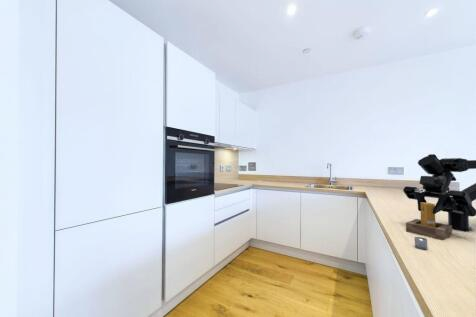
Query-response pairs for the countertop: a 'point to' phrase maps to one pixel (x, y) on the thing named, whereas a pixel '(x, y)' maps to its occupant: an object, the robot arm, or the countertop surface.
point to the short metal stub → (421, 243)
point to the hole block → (429, 229)
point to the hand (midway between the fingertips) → (426, 211)
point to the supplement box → (427, 214)
